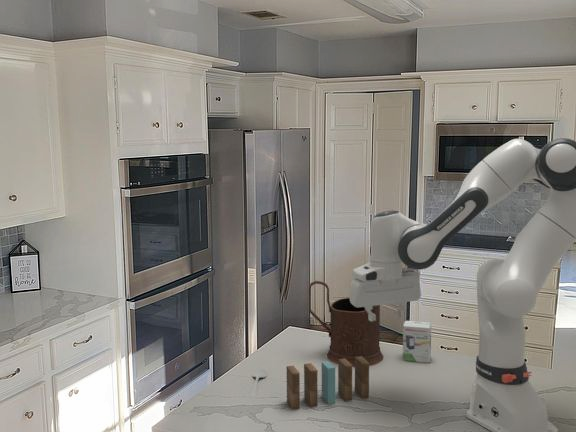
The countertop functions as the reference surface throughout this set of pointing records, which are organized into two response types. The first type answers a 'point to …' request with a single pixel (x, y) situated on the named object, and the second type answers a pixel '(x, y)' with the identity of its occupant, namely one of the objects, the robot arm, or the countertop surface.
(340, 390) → the domino
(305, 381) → the domino
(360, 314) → the brown pitcher
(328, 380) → the domino
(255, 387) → the spoon
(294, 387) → the domino
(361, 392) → the domino
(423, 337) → the ink box
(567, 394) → the countertop surface
